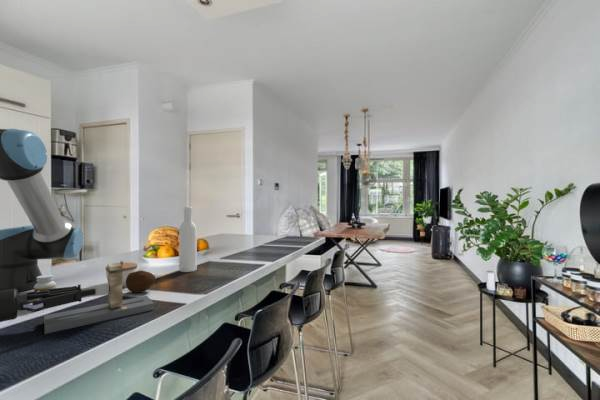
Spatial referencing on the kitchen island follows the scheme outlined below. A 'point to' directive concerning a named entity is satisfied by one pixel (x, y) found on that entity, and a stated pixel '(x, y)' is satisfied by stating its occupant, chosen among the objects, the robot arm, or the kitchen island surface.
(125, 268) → the lidded jar
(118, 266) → the fader tab
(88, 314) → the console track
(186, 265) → the bottle
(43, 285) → the supplement bottle
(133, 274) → the potato
